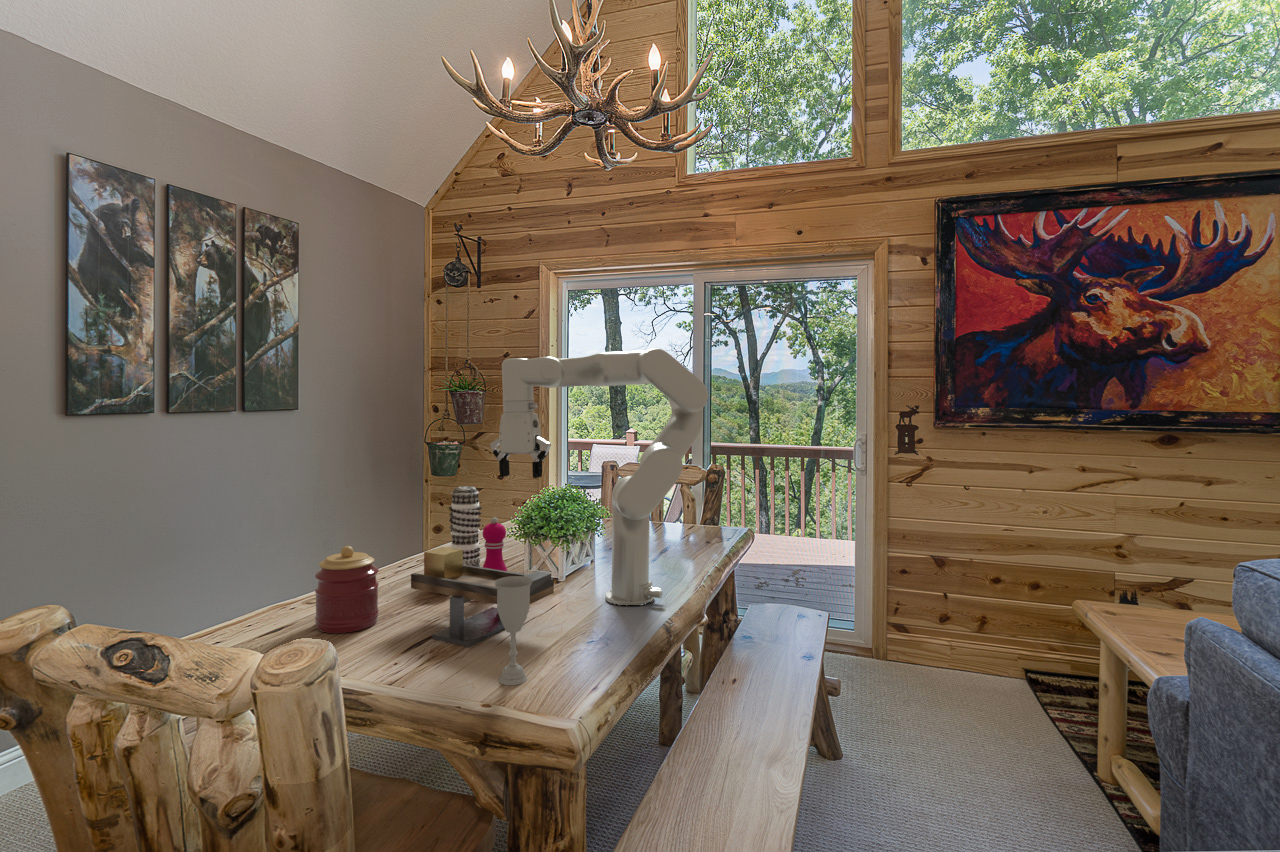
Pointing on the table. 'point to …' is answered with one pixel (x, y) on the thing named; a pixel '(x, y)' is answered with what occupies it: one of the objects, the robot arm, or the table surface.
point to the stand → (469, 625)
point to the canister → (346, 592)
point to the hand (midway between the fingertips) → (520, 476)
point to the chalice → (513, 620)
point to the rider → (444, 562)
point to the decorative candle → (466, 523)
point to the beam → (481, 584)
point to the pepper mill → (494, 545)
